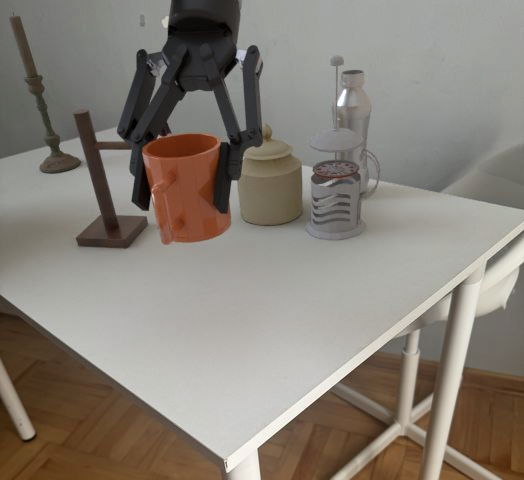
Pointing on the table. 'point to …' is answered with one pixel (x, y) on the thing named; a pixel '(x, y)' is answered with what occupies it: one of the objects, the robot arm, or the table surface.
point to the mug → (185, 186)
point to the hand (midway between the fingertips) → (179, 207)
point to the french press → (337, 182)
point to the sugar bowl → (270, 183)
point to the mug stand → (104, 193)
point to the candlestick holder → (41, 104)
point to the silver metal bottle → (353, 120)
